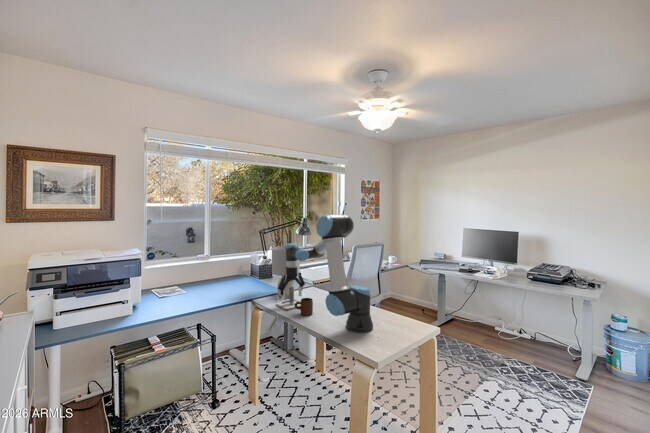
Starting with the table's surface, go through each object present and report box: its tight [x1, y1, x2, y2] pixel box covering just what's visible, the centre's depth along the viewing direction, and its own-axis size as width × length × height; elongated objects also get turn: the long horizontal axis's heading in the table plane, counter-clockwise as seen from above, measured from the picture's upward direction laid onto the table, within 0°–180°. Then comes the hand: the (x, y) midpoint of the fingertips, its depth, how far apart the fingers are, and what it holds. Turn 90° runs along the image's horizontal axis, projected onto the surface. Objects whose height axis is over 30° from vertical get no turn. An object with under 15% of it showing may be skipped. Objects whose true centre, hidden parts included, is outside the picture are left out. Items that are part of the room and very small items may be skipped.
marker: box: [288, 286, 295, 306], centre depth 211 cm, size 3×3×12 cm
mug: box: [295, 297, 314, 317], centre depth 196 cm, size 12×8×9 cm, turn 121°
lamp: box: [271, 245, 301, 299], centre depth 231 cm, size 20×20×37 cm
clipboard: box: [275, 299, 301, 312], centre depth 212 cm, size 13×16×1 cm
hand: (291, 297), depth 211 cm, fingers open, 13 cm apart
